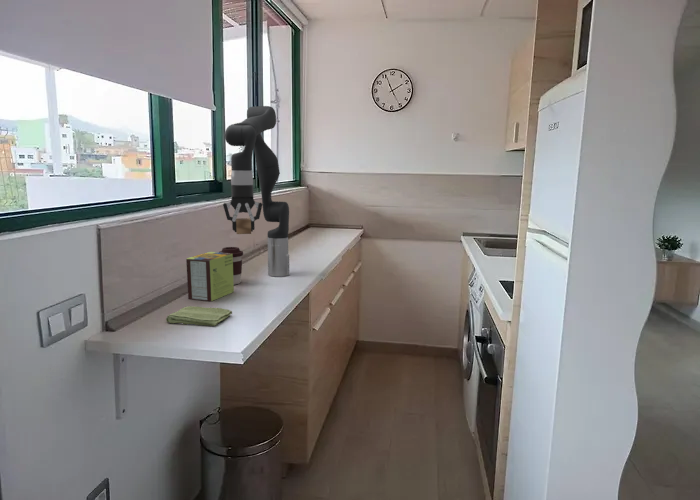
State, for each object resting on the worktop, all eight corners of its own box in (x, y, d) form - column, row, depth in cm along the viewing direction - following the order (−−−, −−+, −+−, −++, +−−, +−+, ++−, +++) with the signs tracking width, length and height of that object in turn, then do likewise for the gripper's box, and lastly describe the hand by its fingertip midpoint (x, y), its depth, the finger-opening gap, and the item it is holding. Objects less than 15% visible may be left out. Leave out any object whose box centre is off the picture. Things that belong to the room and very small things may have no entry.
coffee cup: (237, 286, 204) (236, 250, 201) (215, 285, 206) (214, 249, 203) (247, 281, 213) (246, 246, 211) (226, 279, 215) (224, 245, 213)
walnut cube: (250, 231, 181) (249, 218, 180) (251, 233, 176) (250, 219, 175) (236, 232, 180) (235, 218, 179) (236, 234, 175) (236, 220, 174)
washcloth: (216, 328, 153) (216, 318, 153) (164, 325, 156) (163, 315, 156) (234, 316, 166) (233, 306, 165) (185, 312, 169) (184, 303, 168)
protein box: (234, 292, 196) (233, 253, 193) (211, 301, 181) (209, 260, 179) (211, 289, 199) (210, 251, 196) (187, 299, 185) (185, 258, 182)
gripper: (261, 183, 180) (262, 229, 183) (221, 183, 177) (222, 230, 179) (263, 184, 173) (264, 232, 176) (221, 184, 169) (222, 233, 172)
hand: (243, 231), depth 178 cm, fingers closed on walnut cube, 5 cm apart
